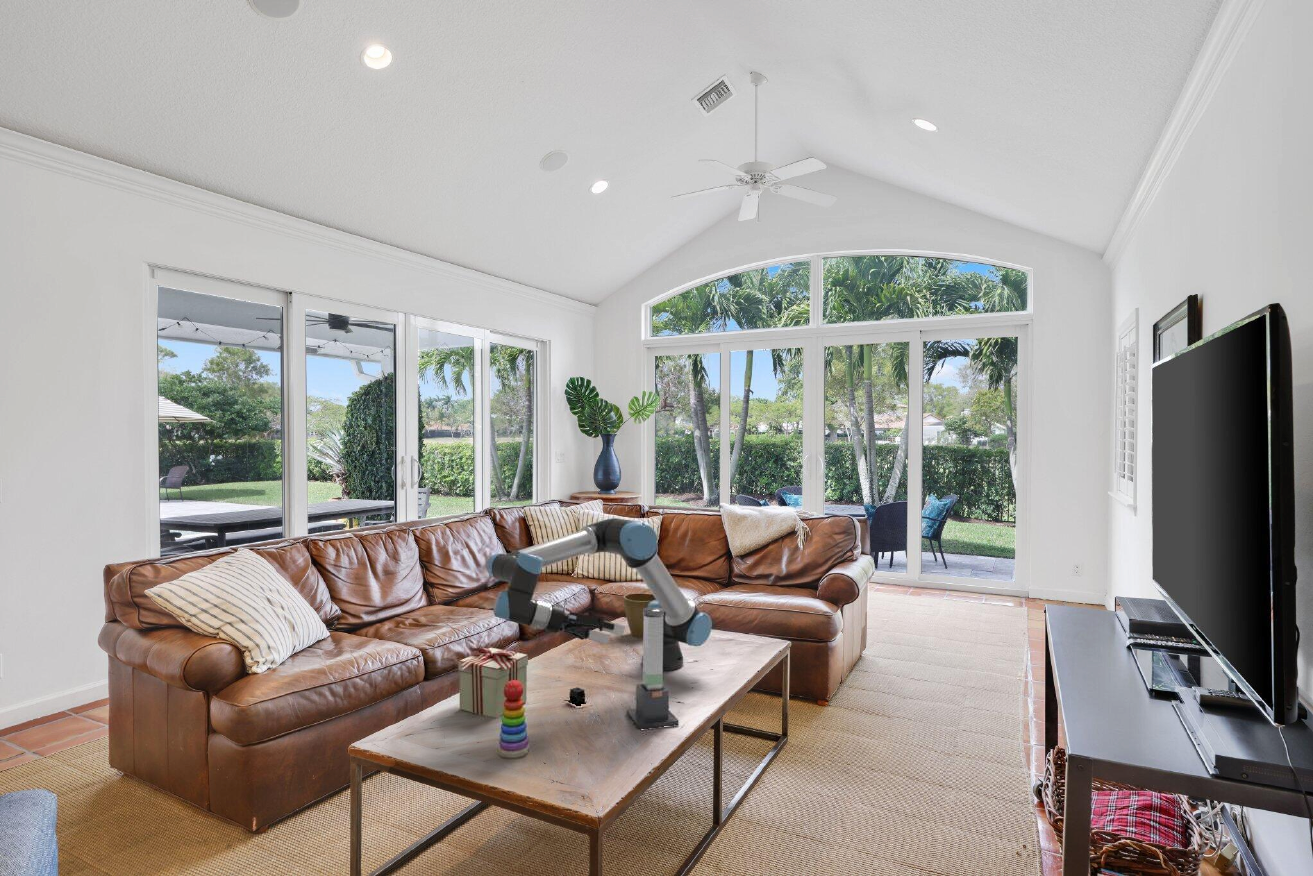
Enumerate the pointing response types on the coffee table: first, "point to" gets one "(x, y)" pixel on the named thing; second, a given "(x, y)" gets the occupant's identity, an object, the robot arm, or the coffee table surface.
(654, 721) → the stand base
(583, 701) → the black rectangular block
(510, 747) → the stacking toy
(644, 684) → the stand post
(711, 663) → the coffee table surface
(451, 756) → the coffee table surface
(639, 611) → the plant pot
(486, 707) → the gift box
